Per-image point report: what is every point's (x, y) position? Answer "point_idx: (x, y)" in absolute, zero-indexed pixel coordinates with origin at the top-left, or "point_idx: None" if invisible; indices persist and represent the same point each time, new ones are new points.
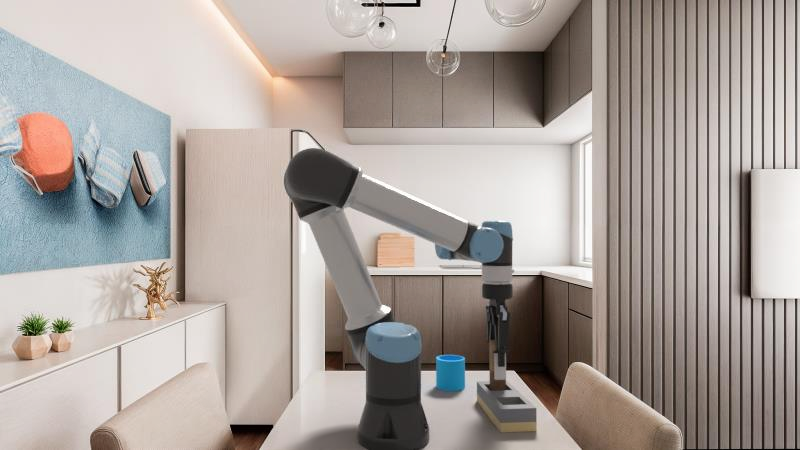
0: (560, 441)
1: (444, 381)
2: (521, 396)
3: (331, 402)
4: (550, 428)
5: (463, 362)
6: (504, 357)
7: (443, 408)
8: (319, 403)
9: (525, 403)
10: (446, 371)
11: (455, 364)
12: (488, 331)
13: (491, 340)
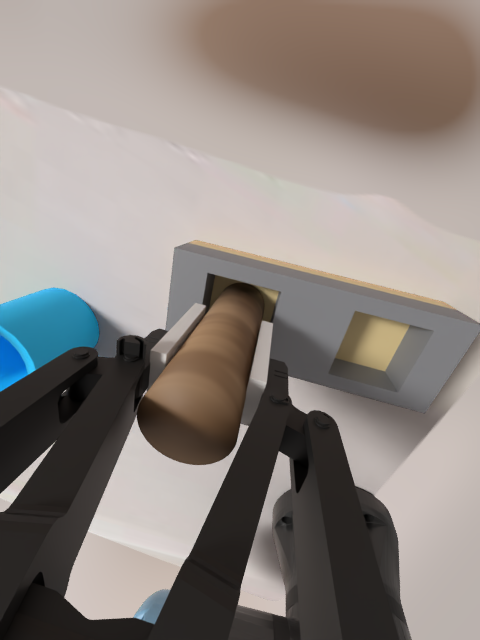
0: None
1: None
2: (357, 302)
3: (141, 521)
4: (450, 255)
5: (23, 332)
6: (287, 389)
7: None
8: (143, 532)
9: (418, 326)
10: None
11: (44, 362)
12: (43, 448)
13: (158, 443)
